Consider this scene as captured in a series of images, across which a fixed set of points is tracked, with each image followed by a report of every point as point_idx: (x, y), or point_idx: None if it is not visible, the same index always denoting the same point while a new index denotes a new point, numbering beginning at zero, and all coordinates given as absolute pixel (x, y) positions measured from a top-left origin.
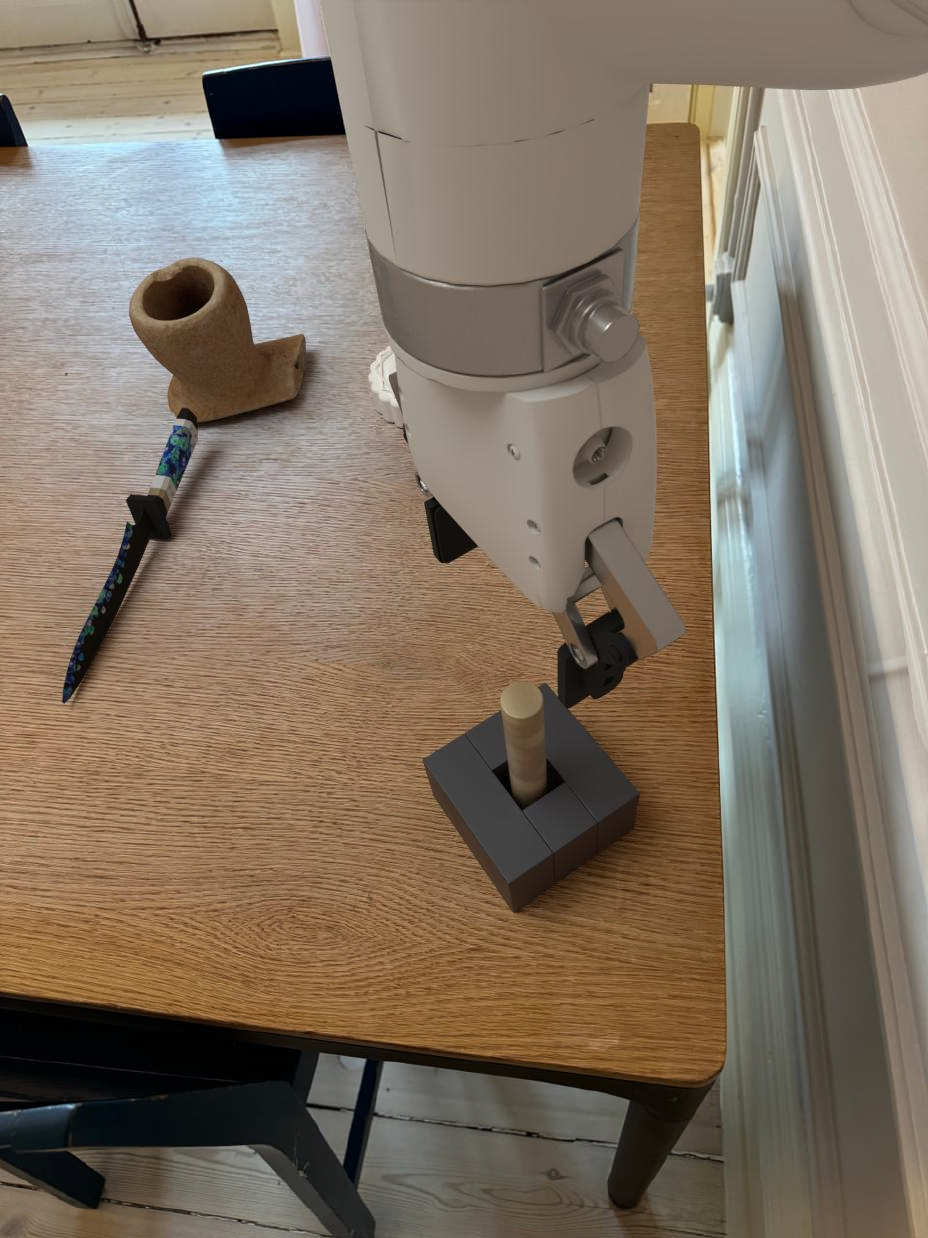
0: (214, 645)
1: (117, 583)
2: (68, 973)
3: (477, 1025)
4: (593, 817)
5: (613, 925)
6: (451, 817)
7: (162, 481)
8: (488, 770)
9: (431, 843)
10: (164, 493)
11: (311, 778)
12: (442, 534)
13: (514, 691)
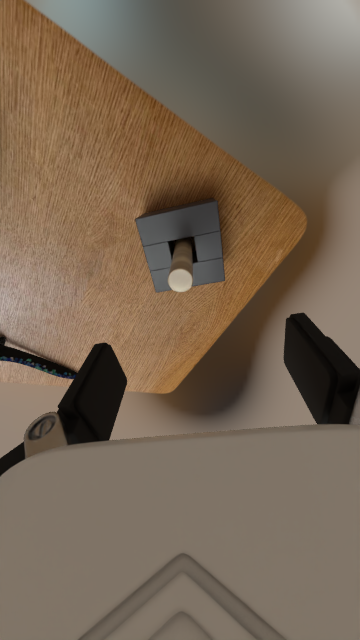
0: (66, 332)
1: (31, 361)
2: (174, 384)
3: (247, 293)
4: (216, 231)
5: (245, 230)
6: None
7: None
8: None
9: None
10: None
11: (136, 316)
12: (116, 410)
13: (173, 282)
